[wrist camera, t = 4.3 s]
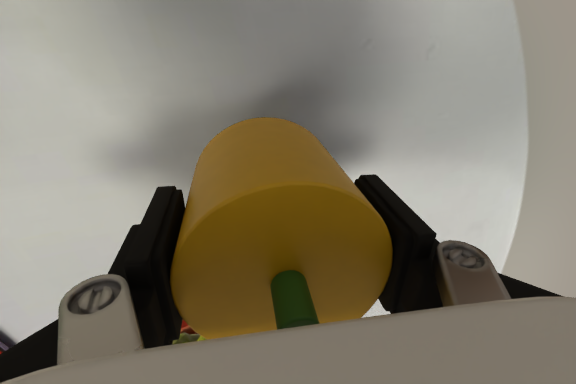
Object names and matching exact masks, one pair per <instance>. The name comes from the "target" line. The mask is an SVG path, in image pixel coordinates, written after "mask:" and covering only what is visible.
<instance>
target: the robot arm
mask: <svg viewBox="0 0 576 384" xmlns="http://www.w3.org/2000/svg"><path fill="white" fill-rule="evenodd" d="M354 184H355V185H356V187H357V188H358V189H359V190H360V191H361V193H362V194H363V195H364V196H365V198H366V199H367V200H368V201H369V202H370V204H371V205H372V206H373V207H374V209H375V210H376V211H377V212H378V213H379V215H380V216H381V217H382V219H383V221H384V222H385V224H386V226H387V228H388V231H389V234H390V237H391V242H392V248H393V261H392V267H391V272H390V275H389V278H388V281H387V283H386V285H385V288H384V290H383V291H382V293H381V295H380V296H379V298H378V299H379V301H380V302H381V304H382V306H383V308H384V309H385V310H386V311H390V313H391V314H387V315H380V316H372V317H365V318H358V319H350V320H343V321H336V322H328V323H321V324H314V325H307V326H300V327H292V328H285V329H278V330H271V331H264V332H257V333H250V334H243V335H236V336H229V337H222V338H215V339H208V340H201V341H194V342H188V343H181V344H174V345H172V344H173V340H178V339H179V338H180V332H181V326H182V320H183V318H182V317H181V316H180V314H179V312H178V310H177V308H176V306H175V304H174V301H173V297H172V293H171V287H170V269H171V265H172V261H173V256H174V252H175V248H176V244H177V240H178V236H179V232H180V228H181V224H182V220H183V216H184V212H185V204H184V198H183V193H182V190H177V189H176V187H175V186H165V187H158V188H157V189H156V192H155V194H154V196H153V198H152V200H151V202H150V205H149V207H148V209H147V211H146V213H145V216H144V218H143V220H142V222H141V224H139V225H133V226H132V227H131V228H130V230H129V232H128V234H127V236H126V238H125V240H124V242H123V244H122V246H121V248H120V250H119V252H118V254H117V256H116V258H115V260H114V262H113V264H112V266H111V268H110V270H109V272H108V274H106V275H99V276H95V277H92V278H90V279H87V280H85V281H83V282H81V283H79V284H78V285H76V286H74V287H73V288H72V289H71V290H70V291H68V292H67V293H66V294H65V296H64V297H63V299H62V300H61V302H60V306H59V318H58V319H57V320H56V321H54V322H52V323H51V324H49V325H48V326H46V327H44V328H43V329H41V330H39V331H38V332H36V333H34V334H33V335H31V336H29V337H28V338H26V339H24V340H23V341H21V342H19V343H18V344H16V345H14V346H13V347H11V348H9V349H8V350H6V351H4V352H3V353H1V354H0V384H576V298H571V297H563V296H561V295H557V294H555V293H552V292H549V291H547V290H544V289H541V288H538V287H536V286H533V285H530V284H527V283H524V282H522V281H519V280H516V279H513V278H510V277H508V276H505V275H502V274H500V273H497V271H496V269H495V268H494V266H493V264H492V262H491V260H490V259H489V257H488V256H487V255H486V254H485V253H484V252H483V251H481V250H480V249H478V248H476V247H475V246H473V245H470V244H467V243H465V242H460V241H452V240H449V241H443V242H441V243H439V242H438V241H437V240H436V239H435V237H436V233H435V232H434V231H433V230H432V229H431V228H430V227H429V226H428V225H427V224H426V223H425V222H424V221H423V220H422V219H421V218H420V217H419V216H418V215H417V214H416V213H415V212H414V211H413V210H412V209H411V208H410V207H408V206H407V205H406V204H405V203H404V202H403V201H402V200H401V199H400V198H399V197H398V196H397V195H396V194H395V193H394V192H393V191H392V190H391V189H390V188H389V187H388V186H387V185H386V184H385V183H384V182H383V181H382V180H381V179H380V178H379V177H378V176H377V175H361V176H360V177H359V179H356V180H355V182H354Z"/></svg>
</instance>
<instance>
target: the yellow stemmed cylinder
mask: <svg viewBox="0 0 576 384" xmlns="http://www.w3.org/2000/svg"><path fill="white" fill-rule="evenodd" d="M392 261H393V248H392V242H391V237H390V234H389V231H388V228H387V226H386V224H385V222H384V221H383V219H382V217H381V216H380V215H379V213H378V212H377V211H376V210H375V209H374V207H373V206H372V205H371V204H370V202H369V201H368V200H367V199H366V198H365V196H364V195H363V194H362V193H361V191H360V190H359V189H358V188H357V187H356V185H355V184H354V183H353V182H352V180H351V179H350V178H349V177H348V176H347V174H346V173H345V172H344V171H343V169H342V168H341V167H340V166H339V165H338V163H337V162H336V161H335V160H334V158H333V157H332V156H331V155H330V154H329V152H328V151H327V150H326V149H325V147H324V146H323V145H322V144H321V143H320V141H319V140H318V139H317V138H316V137H315V136H314V135H313V134H312V133H311V132H310V131H308V130H307V129H305V128H304V127H302V126H300V125H298V124H296V123H294V122H291V121H288V120H285V119H279V118H271V117H261V118H253V119H248V120H244V121H241V122H238V123H236V124H233V125H231V126H230V127H228V128H226V129H224V130H223V131H221V132H220V133H219V134H217V135H216V136H215V137H214V138H213V139H212V140H211V141H210V142H209V143H208V145H207V146H206V147H205V148H204V150H203V152H202V153H201V155H200V157H199V159H198V162H197V164H196V168H195V172H194V176H193V180H192V184H191V188H190V192H189V196H188V200H187V204H186V208H185V212H184V216H183V220H182V224H181V228H180V232H179V236H178V240H177V244H176V248H175V252H174V256H173V261H172V265H171V269H170V287H171V293H172V297H173V301H174V304H175V306H176V308H177V310H178V312H179V314H180V316H181V317H182V318H183V319H184V321H185V322H186V323H187V324H188V325H189V326H190V327H191V328H192V329H193V330H194V331H195V332H196V333H198V334H199V335H201V336H202V337H203V338H205V339H207V340H208V339H215V338H222V337H229V336H236V335H243V334H250V333H257V332H264V331H271V330H278V329H285V328H292V327H300V326H307V325H314V324H321V323H328V322H336V321H343V320H350V319H358V318H361V317H362V316H363V315H364V314H365V313H366V312H367V311H368V310H369V309H370V308H371V307H372V306H373V304H374V303H375V302H376V301H377V299H378V298H379V296H380V295H381V293H382V291H383V290H384V288H385V285H386V283H387V281H388V278H389V275H390V272H391V267H392Z"/></svg>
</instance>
